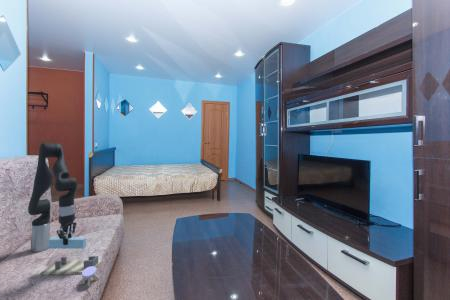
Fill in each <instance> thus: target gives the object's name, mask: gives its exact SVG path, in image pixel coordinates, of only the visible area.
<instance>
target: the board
mask: <svg viewBox="0 0 450 300" xmlns="http://www.w3.org/2000/svg"><path fill="white" fill-rule="evenodd" d="M85 260H86V259H85ZM85 260H67V264H66V265H61V268H60V269H55V262H53V263H52V264H51V265H49V266H48V267H46V268H45V269H43V270H42V271H40V273H39V275H40V276H46V275H47V276H49V275H50V274H58V275H82V272H83V270H84V269H86V268H84V261H85ZM103 261H104V260H103V259H98V264H97V265H96V266H95V267H96V269H97V268H99V267H100V266H101V265H102V264H103Z"/></svg>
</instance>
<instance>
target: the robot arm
mask: <svg viewBox="0 0 450 300" xmlns="http://www.w3.org/2000/svg"><path fill="white" fill-rule="evenodd" d="M38 148H39V149H38V155H37V156H38V158H37V166H36V172H35V175H34V180H33V187H32V192H31V196H30V200H29V202H28V206H27V213H28V214H29V215H30V216H37V215H39V216H38V217H37V218H35V219H33V220H31V236H30V252H34V253H39V252H44V251H46V250H48V249H49V239H51V227H50V225H51V224H50V222H51V201H50V200H49V199H48V198H44V199H41V198H42V196H44V194H45V193H46V192H47V191H49V189H50V188H51V186H53V183H54V189H55V190H56V192H60V193H61V192H67V191H68V192H67V193H65V194H63V195H60V196H59V197H58V212H57V213H58V223H59V224H60V228H59V229H58V230H56V233H57V235H58V238H60V239H63V245H67V244H68V238H73V237H72V236H73V234H74V233H75V232H76V227H77V222H75V220H76V208H75V195H76V191H77V188H78V185H79V183H78V180H77V178H75V177H70V175H71V173H70V170H69V169H68V167H67V164H66V158H65V153H64V149H63V146H62V145H61V144H60V143H59V142H58V143H56V142H41V144H39V147H38ZM47 158H48V159H49V158H50V159H51V158H52V159H53V158H57V159H56V161H55V162H54V163H53V165H52V168H51V169H52V170H51V169H50V167H49V166H48V164H47ZM53 180H54V181H53Z"/></svg>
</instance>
